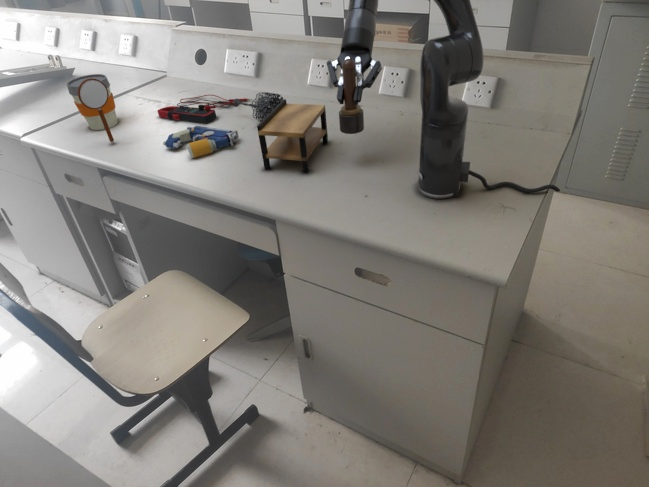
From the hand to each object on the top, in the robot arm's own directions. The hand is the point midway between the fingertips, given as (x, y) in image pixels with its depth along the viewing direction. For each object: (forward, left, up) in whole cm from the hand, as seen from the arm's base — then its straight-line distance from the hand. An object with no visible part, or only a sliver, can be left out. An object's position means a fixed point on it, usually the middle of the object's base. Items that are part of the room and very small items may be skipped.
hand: (348, 102), depth 108 cm
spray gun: (+47, -4, -17) cm, 50 cm away
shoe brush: (0, -2, -7) cm, 8 cm away
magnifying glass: (+77, -2, -17) cm, 79 cm away
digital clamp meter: (+61, -31, -17) cm, 70 cm away
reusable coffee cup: (+91, -15, -17) cm, 94 cm away
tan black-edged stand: (+16, -3, -17) cm, 23 cm away
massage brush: (+35, -24, -17) cm, 46 cm away
